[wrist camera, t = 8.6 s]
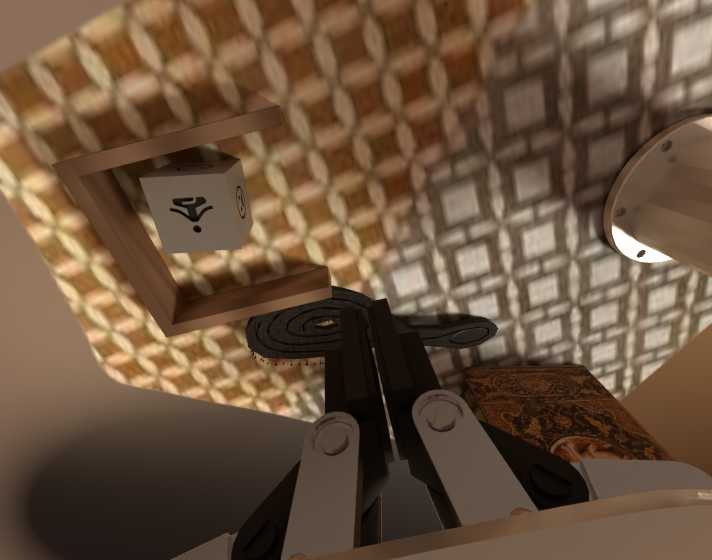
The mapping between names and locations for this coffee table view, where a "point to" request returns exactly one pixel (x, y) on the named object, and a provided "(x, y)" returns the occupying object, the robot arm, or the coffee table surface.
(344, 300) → the hairbrush
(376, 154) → the coffee table surface
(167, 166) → the dice cube
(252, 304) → the box
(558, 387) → the book
